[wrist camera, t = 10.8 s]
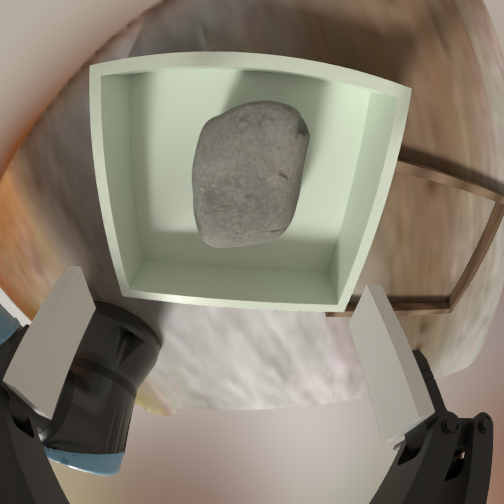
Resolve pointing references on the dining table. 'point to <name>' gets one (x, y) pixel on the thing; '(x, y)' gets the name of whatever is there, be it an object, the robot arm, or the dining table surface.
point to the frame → (500, 209)
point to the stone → (248, 173)
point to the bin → (180, 176)
